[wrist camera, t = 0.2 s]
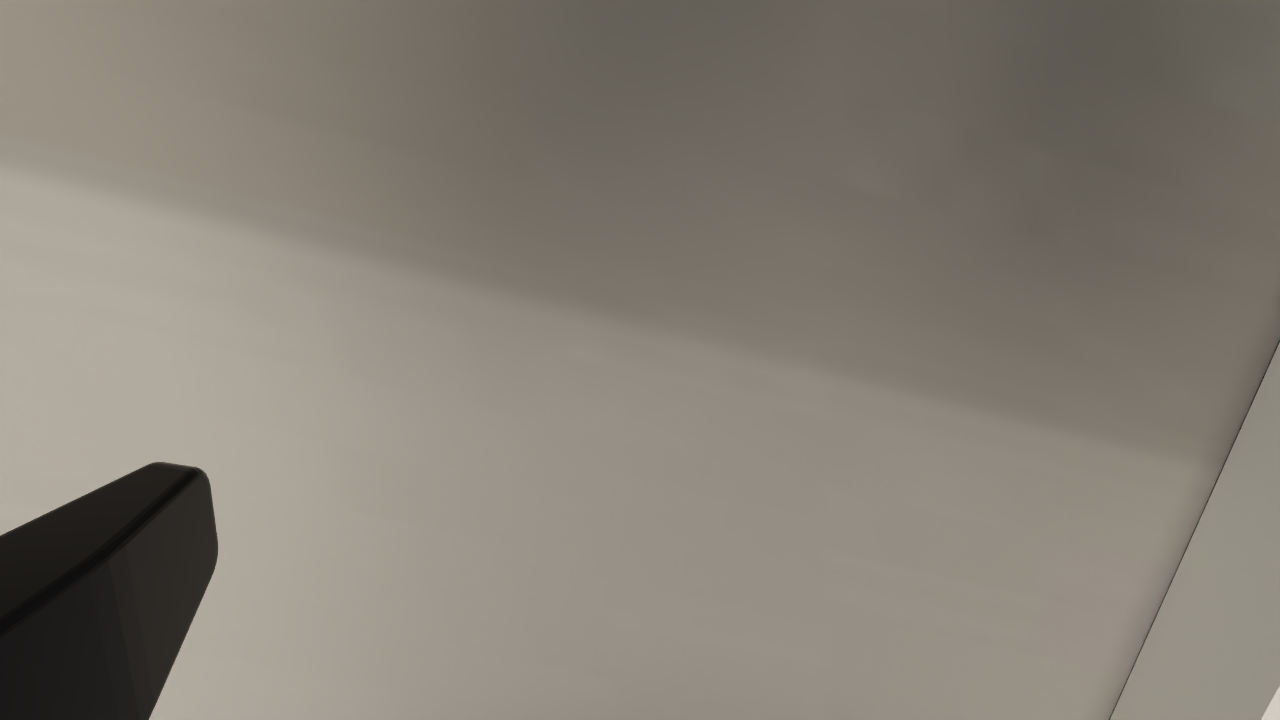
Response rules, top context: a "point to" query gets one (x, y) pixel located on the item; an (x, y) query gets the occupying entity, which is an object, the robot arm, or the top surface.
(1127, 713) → the power strip
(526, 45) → the top surface
